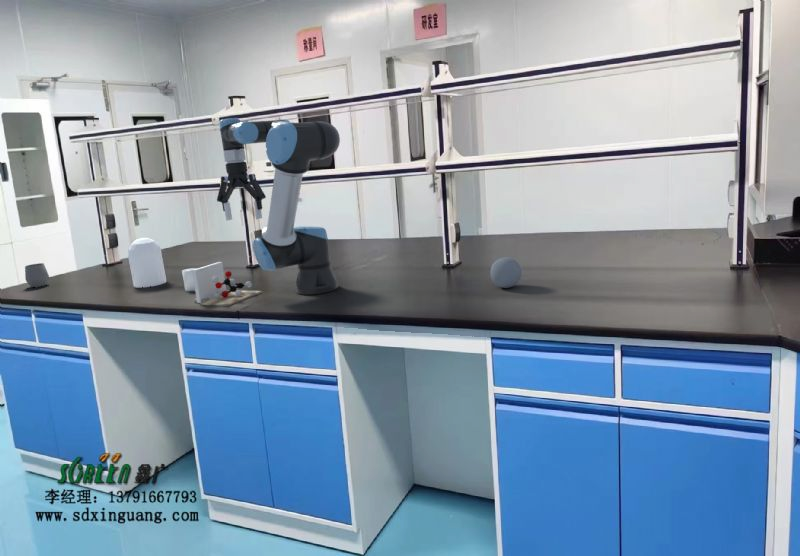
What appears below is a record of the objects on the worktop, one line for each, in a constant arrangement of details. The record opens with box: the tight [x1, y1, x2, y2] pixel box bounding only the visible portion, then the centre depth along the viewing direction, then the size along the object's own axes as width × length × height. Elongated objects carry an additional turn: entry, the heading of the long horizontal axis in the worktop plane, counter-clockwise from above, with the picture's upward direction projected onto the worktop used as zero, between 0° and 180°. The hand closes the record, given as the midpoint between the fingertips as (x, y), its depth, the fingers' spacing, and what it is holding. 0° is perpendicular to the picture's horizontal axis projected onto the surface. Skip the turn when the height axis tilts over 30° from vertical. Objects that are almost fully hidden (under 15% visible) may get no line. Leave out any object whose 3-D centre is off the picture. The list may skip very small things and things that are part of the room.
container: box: [127, 237, 167, 289], centre depth 262 cm, size 14×13×20 cm
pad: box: [199, 290, 263, 307], centre depth 222 cm, size 13×18×1 cm
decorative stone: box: [489, 256, 522, 289], centre depth 200 cm, size 10×10×10 cm
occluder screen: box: [192, 261, 230, 304], centre depth 225 cm, size 5×14×12 cm, turn 154°
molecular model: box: [212, 270, 253, 298], centre depth 221 cm, size 16×8×10 cm, turn 147°
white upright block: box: [181, 267, 199, 292], centre depth 243 cm, size 6×6×8 cm
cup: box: [24, 262, 50, 288], centre depth 281 cm, size 10×9×10 cm
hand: (244, 219), depth 231 cm, fingers open, 13 cm apart
